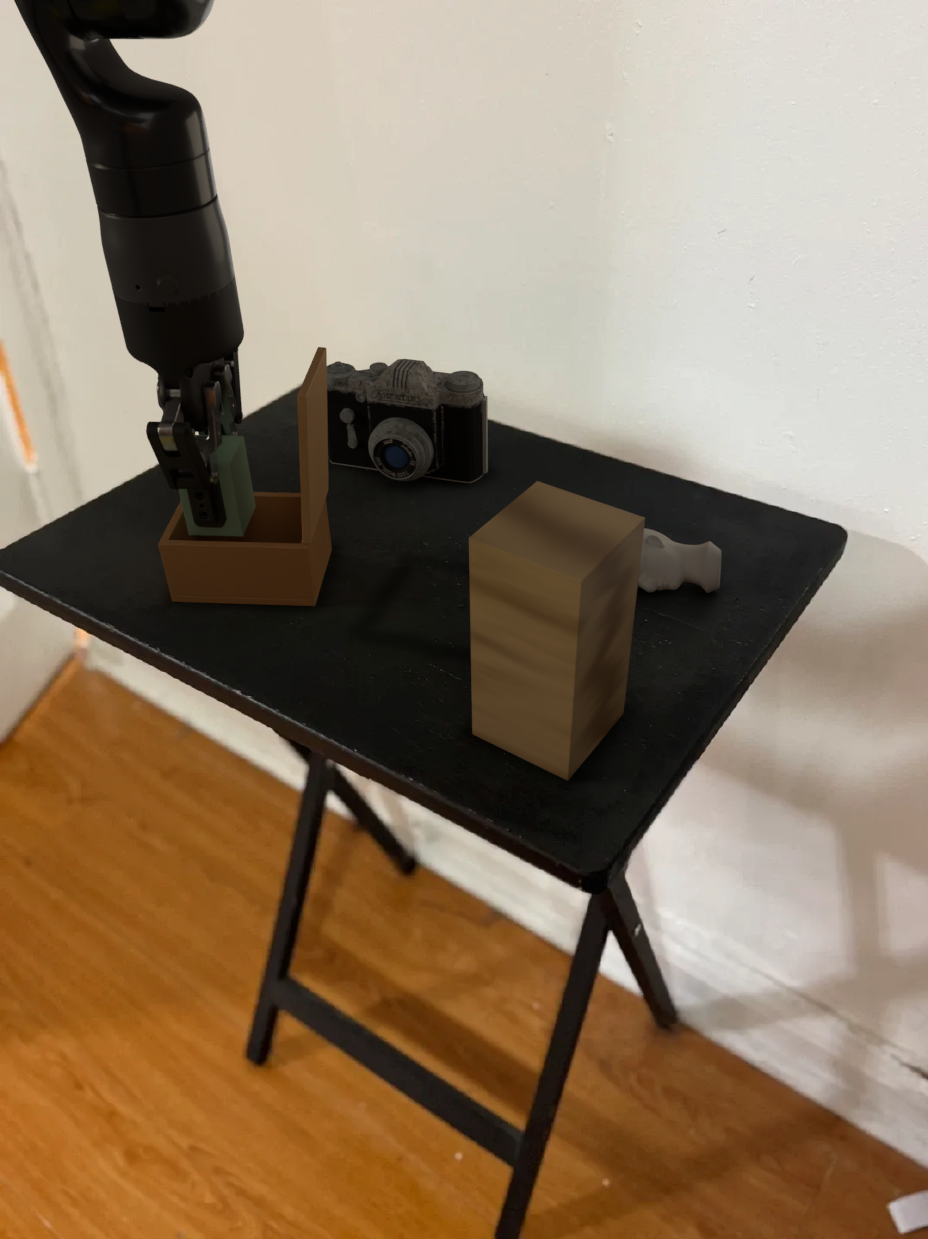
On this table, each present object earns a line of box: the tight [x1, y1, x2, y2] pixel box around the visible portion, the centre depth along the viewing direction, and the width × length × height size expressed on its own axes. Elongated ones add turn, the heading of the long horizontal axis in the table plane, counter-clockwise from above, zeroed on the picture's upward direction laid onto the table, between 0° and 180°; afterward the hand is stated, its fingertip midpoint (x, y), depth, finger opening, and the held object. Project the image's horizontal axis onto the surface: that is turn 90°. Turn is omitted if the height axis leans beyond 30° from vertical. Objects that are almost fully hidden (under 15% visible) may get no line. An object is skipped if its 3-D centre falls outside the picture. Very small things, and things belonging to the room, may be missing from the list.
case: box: [157, 491, 333, 607], centre depth 77 cm, size 11×7×5 cm
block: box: [178, 434, 256, 537], centre depth 73 cm, size 4×4×6 cm
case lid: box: [296, 346, 329, 544], centre depth 71 cm, size 11×7×1 cm
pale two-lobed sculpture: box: [637, 527, 723, 594], centre depth 75 cm, size 4×8×5 cm
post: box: [468, 480, 646, 782], centre depth 61 cm, size 7×7×15 cm
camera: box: [327, 358, 489, 484], centre depth 86 cm, size 15×7×10 cm, turn 73°
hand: (219, 506), depth 75 cm, fingers closed on block, 4 cm apart
